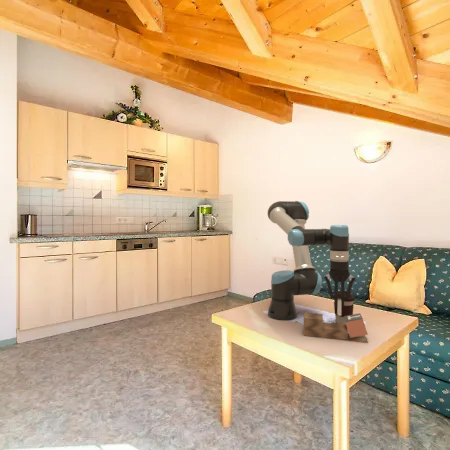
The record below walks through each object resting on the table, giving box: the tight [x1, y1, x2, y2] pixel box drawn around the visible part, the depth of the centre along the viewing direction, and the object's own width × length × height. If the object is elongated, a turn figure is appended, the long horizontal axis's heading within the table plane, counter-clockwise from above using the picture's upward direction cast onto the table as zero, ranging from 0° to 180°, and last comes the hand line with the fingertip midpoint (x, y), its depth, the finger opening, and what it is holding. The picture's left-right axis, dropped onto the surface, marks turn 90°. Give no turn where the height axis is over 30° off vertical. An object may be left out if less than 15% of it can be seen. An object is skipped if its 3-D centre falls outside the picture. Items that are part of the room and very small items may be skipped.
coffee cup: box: [333, 290, 356, 324], centre depth 144 cm, size 10×10×15 cm
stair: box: [303, 312, 368, 344], centre depth 129 cm, size 26×8×8 cm, turn 72°
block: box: [344, 313, 368, 338], centre depth 126 cm, size 7×7×7 cm
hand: (339, 314), depth 128 cm, fingers closed
